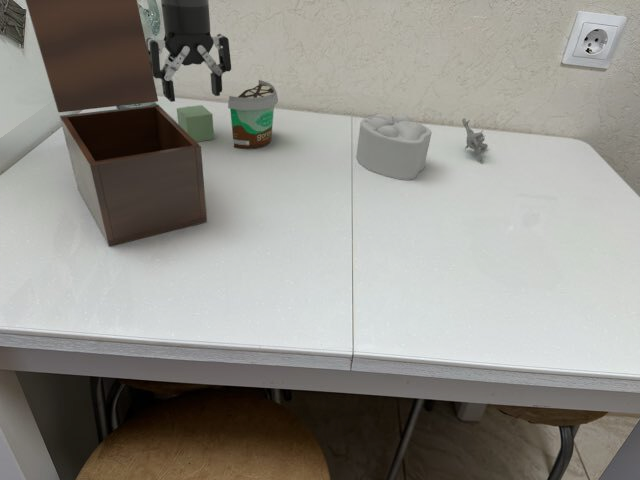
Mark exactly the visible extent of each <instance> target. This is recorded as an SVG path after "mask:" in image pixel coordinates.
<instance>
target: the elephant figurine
mask: <svg viewBox="0 0 640 480" xmlns="http://www.w3.org/2000/svg"><path fill="white" fill-rule="evenodd" d="M461 122H462V125H463V127H464V128H465V132H466V145H465V147H464V150H467V149H468V148H470V149H472V150H474V153H475V154H476V156H477V160H478V161H479V163H484V159H483V158H485V157H486V156H485V155H482V154H481V152H480V149H482V150H486V149H487V148H489V144H488V143H484V142H485V141H486V135H484V133H483V132H484V129H482V130H481V131H479V132H474V131H473V129H472V128H471V127H469V123H470V119H468V120H467V119H466V118H465V117H464V118H462V119H461ZM479 148H480V149H479Z"/></svg>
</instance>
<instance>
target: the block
mask: <svg viewBox="0 0 640 480" xmlns="http://www.w3.org/2000/svg"><path fill="white" fill-rule="evenodd" d="M176 115H177V124H178V125H179V126H180V127H181V128H182V129H183V130H185V131H186V132H187V133H188V134H189V135H190V136H191V137H192V138H193V139H194V140H195V141H196V142H197V143H198V142H204V141H210V140H215V137H214V136H215V134H214V119H213V113H212V112H210V110H208V109H207V108H206V107H205V106H204V105H203V104H200V105H191V106H182V107H176Z"/></svg>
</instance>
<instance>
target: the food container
mask: <svg viewBox="0 0 640 480" xmlns="http://www.w3.org/2000/svg"><path fill="white" fill-rule="evenodd" d="M278 98H279V97H278V92H277V90H276V88H275V86H274V85H273V84H272V83H270V82H268V81H264V80H261V79H258V85H256V86H254V87H252V88H249V89H246V90H244V91H243V92H241V93H240V94H239V95H238V96H233V95H228V102H227V109H230V110H229V111H230V119H231V120H230V121H231V131H232V142H233V148H237V149H244V150H245V149H246V150H251V149H252V150H254V149H255V150H257V149H260V148H261V149H262V148H264V147H266V146H269V145H270V144H271V142H272V133H273V123H274V114H275V112H274V111H275V106H276V105H277V104H278V102H279V99H278Z"/></svg>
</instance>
